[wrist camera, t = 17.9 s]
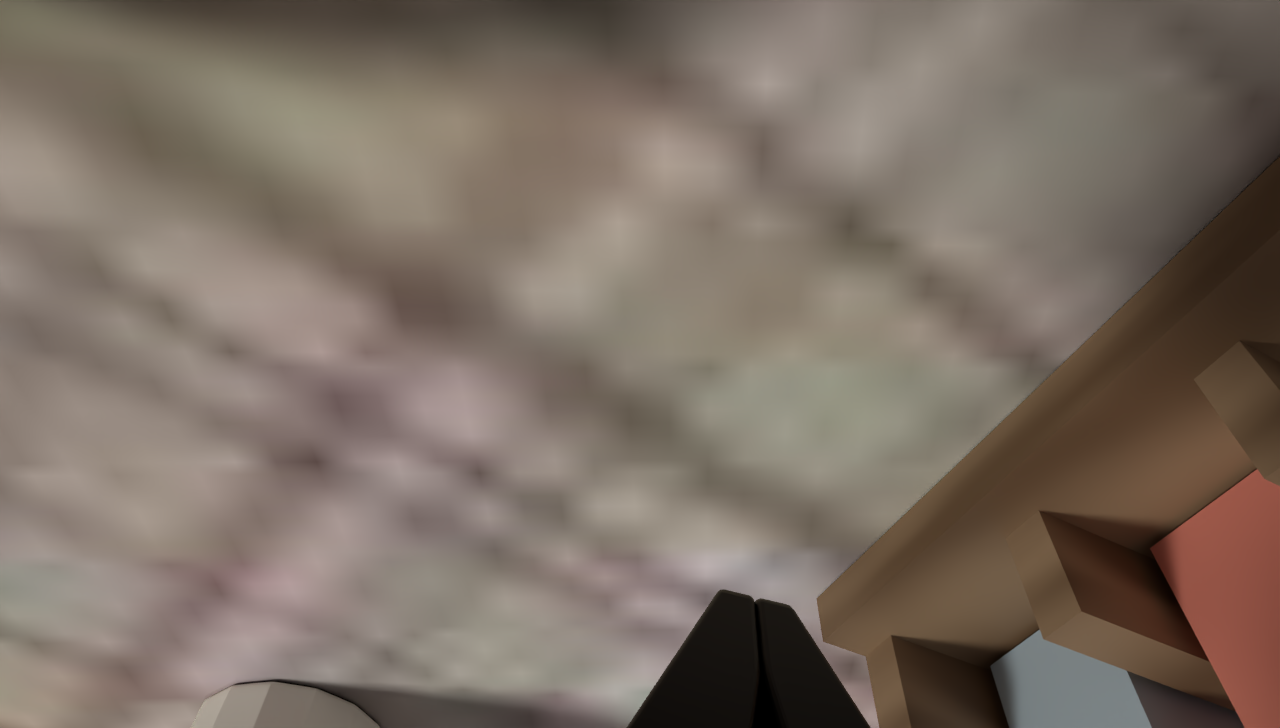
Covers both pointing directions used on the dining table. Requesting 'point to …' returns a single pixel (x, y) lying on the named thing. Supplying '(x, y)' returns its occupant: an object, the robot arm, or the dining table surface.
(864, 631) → the key console
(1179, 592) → the red key
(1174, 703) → the grey rectangular block
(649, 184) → the dining table surface
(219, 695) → the white cup
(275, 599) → the dining table surface
